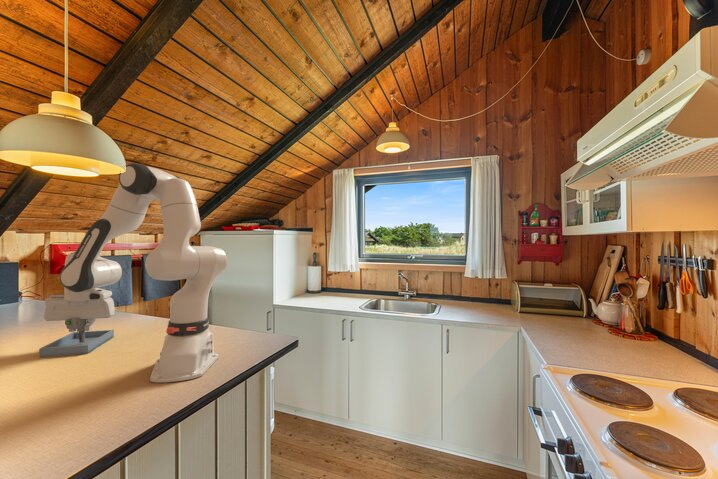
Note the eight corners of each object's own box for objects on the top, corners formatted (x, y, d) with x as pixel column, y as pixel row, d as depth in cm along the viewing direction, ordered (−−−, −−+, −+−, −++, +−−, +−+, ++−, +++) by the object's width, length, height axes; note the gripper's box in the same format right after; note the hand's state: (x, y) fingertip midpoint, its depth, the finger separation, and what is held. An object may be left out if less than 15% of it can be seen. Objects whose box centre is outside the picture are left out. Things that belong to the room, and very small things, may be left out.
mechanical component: (98, 337, 116) (96, 312, 115) (72, 347, 106) (71, 320, 105) (90, 337, 116) (89, 312, 116) (64, 348, 106) (62, 320, 105)
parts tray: (87, 353, 104) (87, 345, 104) (39, 357, 100) (39, 348, 100) (113, 337, 121) (113, 329, 121) (72, 339, 117) (73, 332, 117)
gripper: (39, 296, 104) (39, 335, 104) (108, 294, 110) (108, 331, 110) (52, 293, 110) (51, 330, 110) (116, 291, 116) (116, 326, 116)
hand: (80, 330), depth 110 cm, fingers closed on mechanical component, 3 cm apart
